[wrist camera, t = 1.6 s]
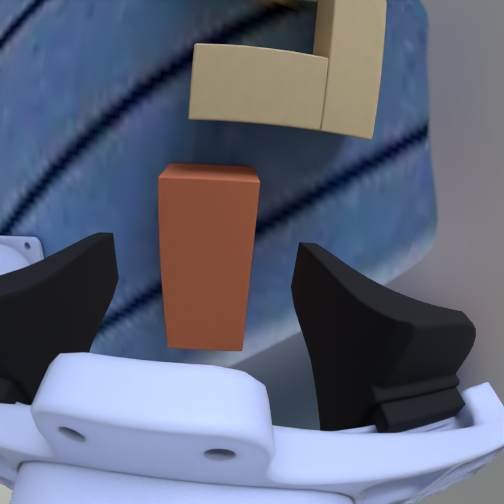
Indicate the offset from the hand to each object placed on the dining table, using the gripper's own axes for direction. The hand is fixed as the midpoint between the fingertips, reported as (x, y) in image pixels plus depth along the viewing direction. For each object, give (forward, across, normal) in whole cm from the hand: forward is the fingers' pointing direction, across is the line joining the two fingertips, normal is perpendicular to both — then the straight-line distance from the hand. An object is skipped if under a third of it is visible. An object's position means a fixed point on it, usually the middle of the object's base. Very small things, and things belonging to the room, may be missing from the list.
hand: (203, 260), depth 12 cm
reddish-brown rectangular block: (+6, 0, +2) cm, 6 cm away
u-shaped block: (+6, -3, -11) cm, 13 cm away
